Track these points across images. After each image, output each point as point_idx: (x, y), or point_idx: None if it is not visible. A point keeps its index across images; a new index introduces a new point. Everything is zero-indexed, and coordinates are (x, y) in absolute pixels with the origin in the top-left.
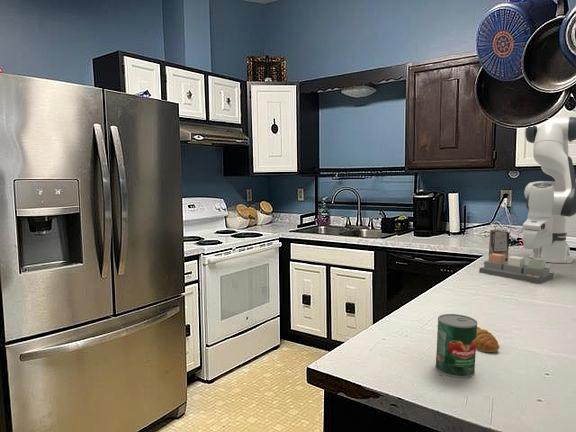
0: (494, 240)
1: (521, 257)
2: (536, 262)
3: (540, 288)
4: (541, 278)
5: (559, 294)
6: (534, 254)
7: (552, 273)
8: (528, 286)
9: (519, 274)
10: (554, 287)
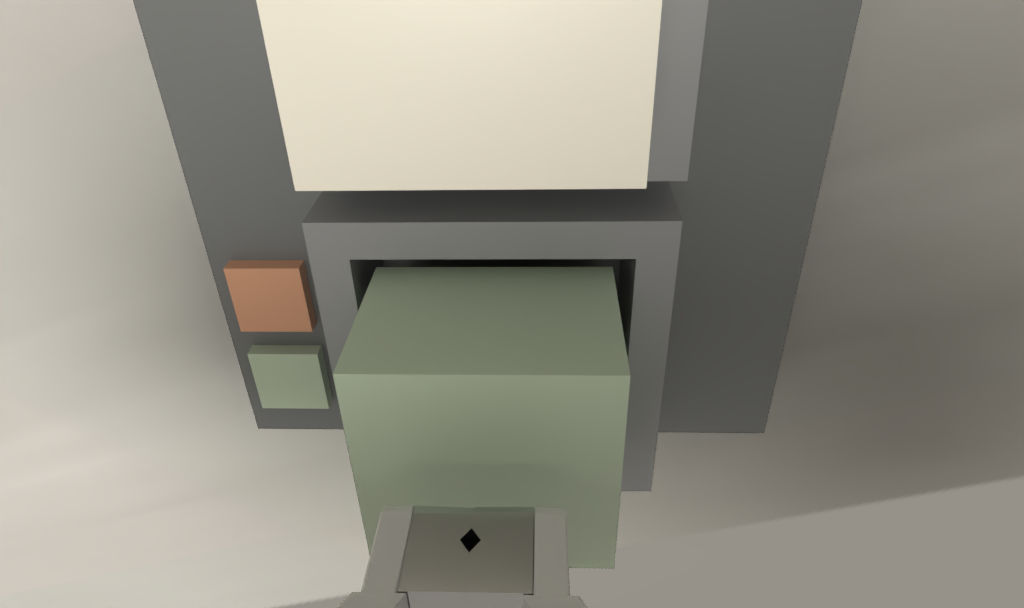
0: None
1: (597, 107)
2: (365, 484)
3: (77, 446)
4: (295, 426)
5: (59, 583)
6: (369, 579)
7: (751, 423)
8: (15, 348)
9: (216, 154)
10: (266, 505)
